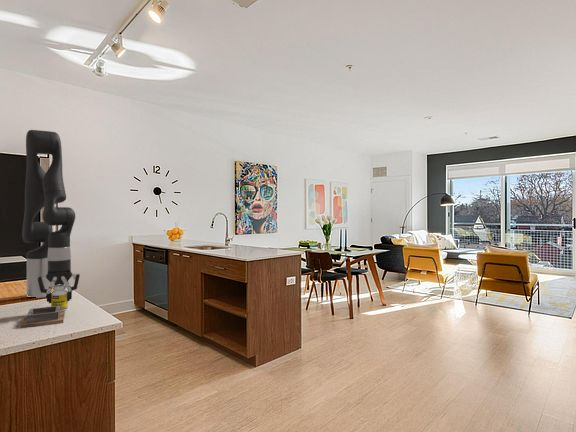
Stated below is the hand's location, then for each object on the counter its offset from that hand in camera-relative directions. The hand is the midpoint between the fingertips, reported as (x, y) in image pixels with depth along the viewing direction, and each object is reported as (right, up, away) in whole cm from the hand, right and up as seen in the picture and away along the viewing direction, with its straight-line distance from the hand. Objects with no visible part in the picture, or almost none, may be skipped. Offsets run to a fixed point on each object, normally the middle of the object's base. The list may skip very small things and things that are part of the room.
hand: (59, 301), depth 135 cm
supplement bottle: (0, -4, 0) cm, 4 cm away
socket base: (+2, -4, -11) cm, 12 cm away
